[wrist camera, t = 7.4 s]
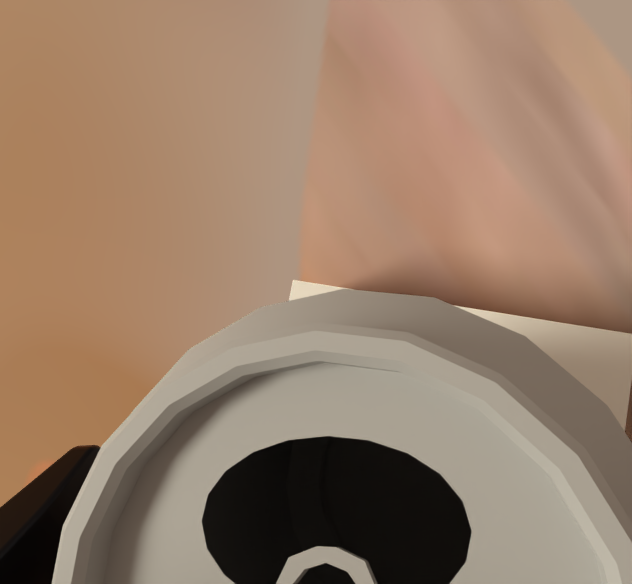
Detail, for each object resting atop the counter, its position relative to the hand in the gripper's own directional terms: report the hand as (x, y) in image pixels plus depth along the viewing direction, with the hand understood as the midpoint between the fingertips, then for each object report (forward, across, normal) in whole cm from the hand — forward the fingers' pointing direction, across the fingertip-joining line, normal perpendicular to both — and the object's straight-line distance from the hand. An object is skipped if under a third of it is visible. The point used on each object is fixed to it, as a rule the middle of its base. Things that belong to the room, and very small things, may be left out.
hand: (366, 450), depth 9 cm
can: (+5, 0, +7) cm, 9 cm away
